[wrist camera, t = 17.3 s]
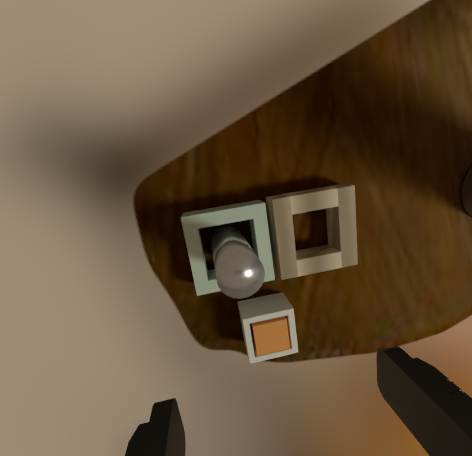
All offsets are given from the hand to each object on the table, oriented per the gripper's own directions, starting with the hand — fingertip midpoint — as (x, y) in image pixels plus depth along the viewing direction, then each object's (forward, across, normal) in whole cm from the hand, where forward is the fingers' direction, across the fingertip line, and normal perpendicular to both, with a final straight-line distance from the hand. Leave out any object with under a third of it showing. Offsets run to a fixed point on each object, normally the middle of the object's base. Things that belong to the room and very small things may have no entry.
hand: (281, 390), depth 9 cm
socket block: (+21, -10, 0) cm, 23 cm away
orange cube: (+20, -3, +11) cm, 23 cm away
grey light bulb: (+21, 0, 0) cm, 21 cm away
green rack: (+21, 0, 0) cm, 21 cm away
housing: (+21, -3, +11) cm, 24 cm away
